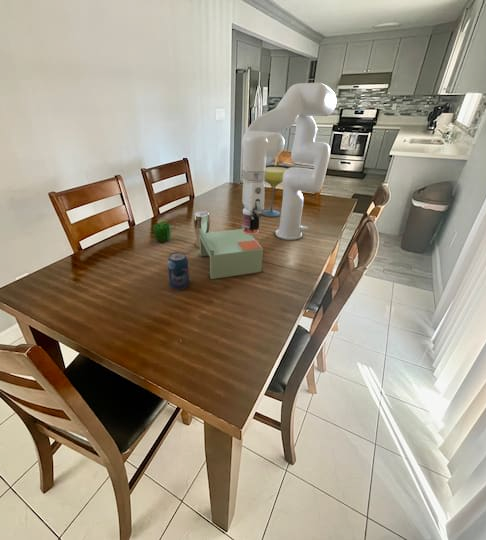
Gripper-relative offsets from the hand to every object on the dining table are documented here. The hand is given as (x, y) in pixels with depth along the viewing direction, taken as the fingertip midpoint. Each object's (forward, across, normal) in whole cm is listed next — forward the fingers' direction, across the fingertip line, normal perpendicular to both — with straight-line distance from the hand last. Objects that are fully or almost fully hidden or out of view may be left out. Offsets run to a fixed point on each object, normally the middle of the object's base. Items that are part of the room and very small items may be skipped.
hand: (250, 225), depth 107 cm
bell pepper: (+18, +35, +30) cm, 50 cm away
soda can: (+18, -5, +28) cm, 34 cm away
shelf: (+18, +6, +6) cm, 20 cm away
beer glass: (+18, +25, +13) cm, 34 cm away
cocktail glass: (+18, +55, -34) cm, 67 cm away
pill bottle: (+3, 0, 0) cm, 3 cm away
